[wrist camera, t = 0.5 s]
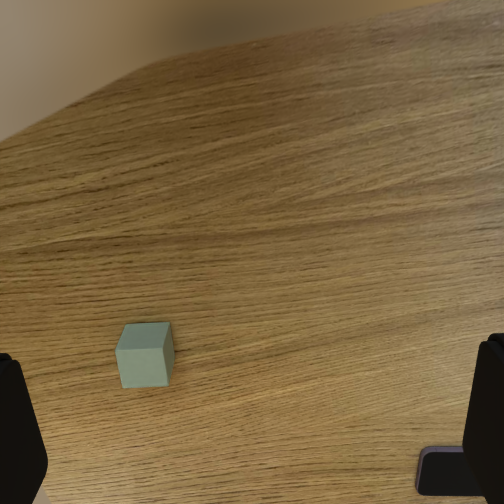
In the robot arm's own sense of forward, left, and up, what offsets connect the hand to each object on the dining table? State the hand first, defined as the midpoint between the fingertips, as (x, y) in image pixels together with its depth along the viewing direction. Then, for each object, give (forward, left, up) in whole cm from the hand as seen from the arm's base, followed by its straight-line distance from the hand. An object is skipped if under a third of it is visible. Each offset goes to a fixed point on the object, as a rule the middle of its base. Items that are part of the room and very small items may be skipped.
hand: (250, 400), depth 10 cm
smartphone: (+41, +25, -33) cm, 58 cm away
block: (+21, -11, -33) cm, 40 cm away
